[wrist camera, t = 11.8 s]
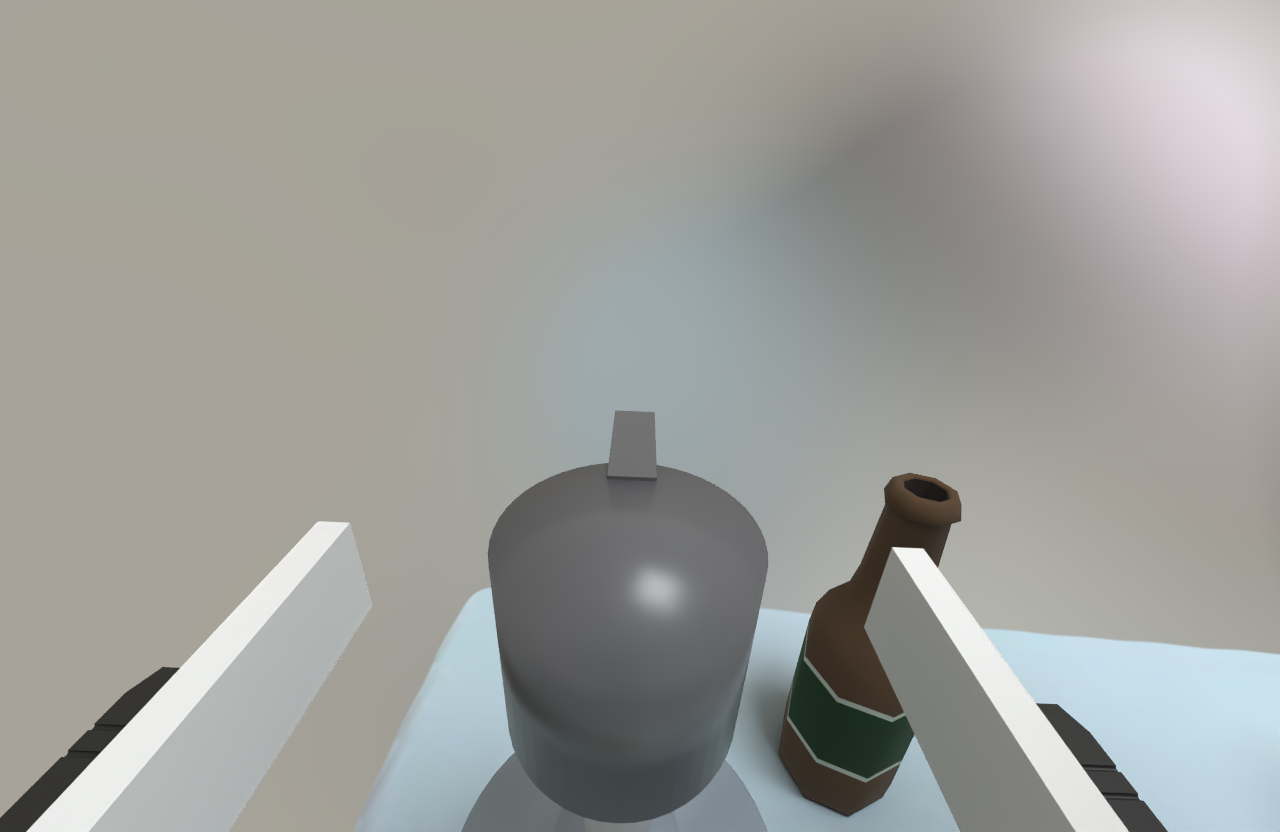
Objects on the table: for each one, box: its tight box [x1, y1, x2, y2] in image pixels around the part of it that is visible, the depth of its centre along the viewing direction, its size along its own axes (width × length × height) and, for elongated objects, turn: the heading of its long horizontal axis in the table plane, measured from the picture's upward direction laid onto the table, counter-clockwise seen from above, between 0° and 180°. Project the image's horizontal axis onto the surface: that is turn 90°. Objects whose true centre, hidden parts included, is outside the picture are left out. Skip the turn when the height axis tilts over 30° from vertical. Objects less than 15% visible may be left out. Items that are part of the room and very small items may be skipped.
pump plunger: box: [488, 411, 768, 832], centre depth 14 cm, size 6×8×12 cm
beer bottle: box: [779, 473, 961, 816], centre depth 31 cm, size 8×8×24 cm
